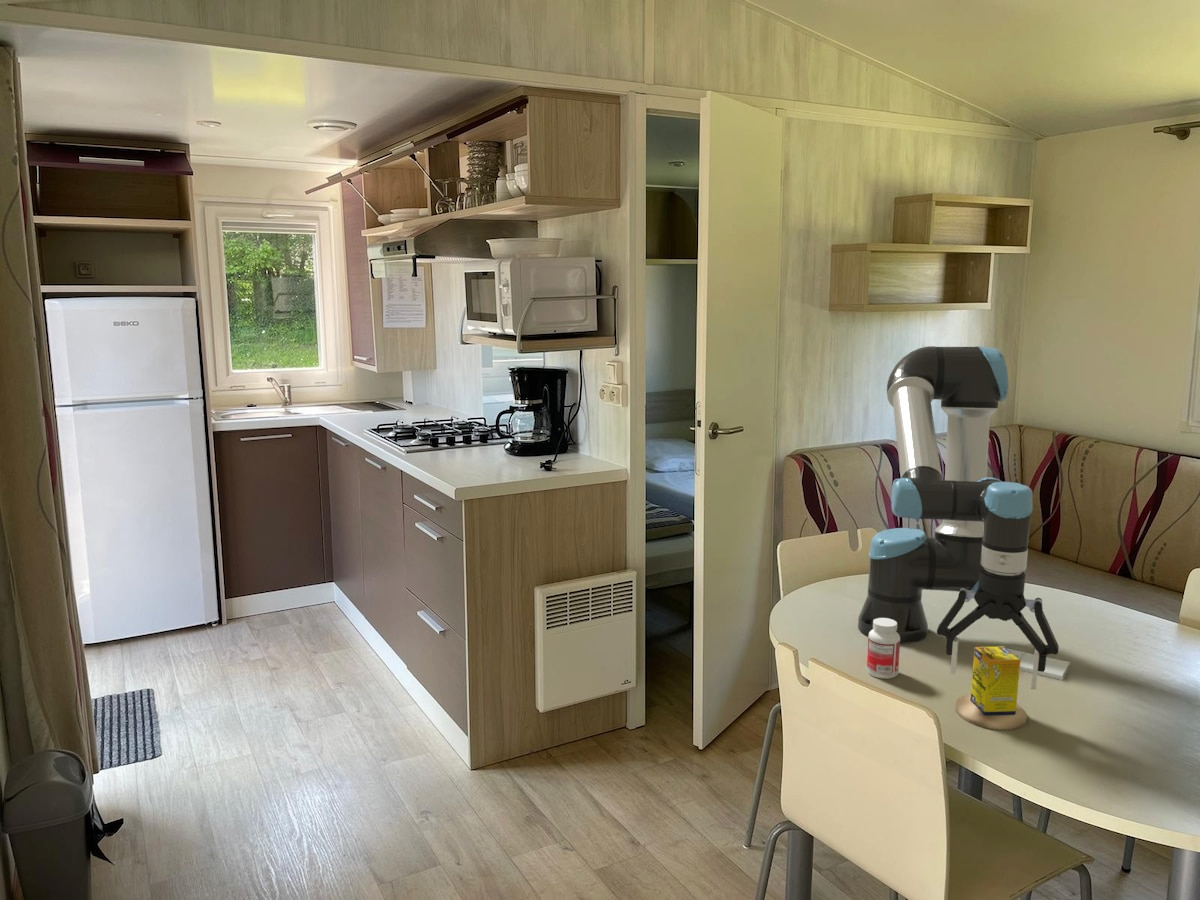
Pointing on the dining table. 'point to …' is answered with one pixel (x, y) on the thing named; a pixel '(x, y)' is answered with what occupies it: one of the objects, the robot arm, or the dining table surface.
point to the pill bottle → (883, 649)
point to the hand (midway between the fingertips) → (992, 678)
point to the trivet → (992, 722)
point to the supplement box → (995, 680)
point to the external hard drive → (1052, 666)
